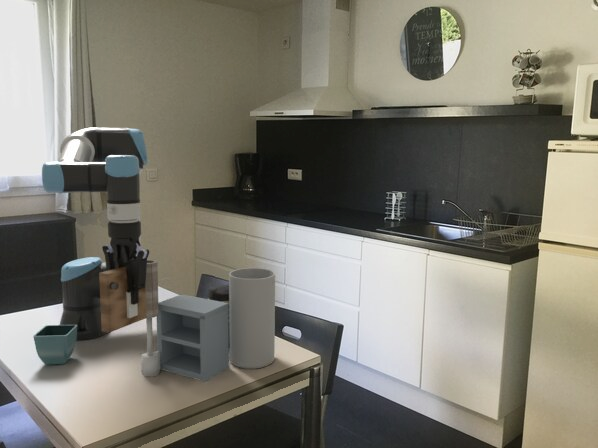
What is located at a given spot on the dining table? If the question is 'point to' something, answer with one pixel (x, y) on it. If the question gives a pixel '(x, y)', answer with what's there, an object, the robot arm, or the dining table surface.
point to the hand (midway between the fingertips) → (127, 315)
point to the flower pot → (55, 343)
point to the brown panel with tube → (116, 301)
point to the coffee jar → (220, 296)
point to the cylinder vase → (252, 317)
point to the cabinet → (188, 338)
